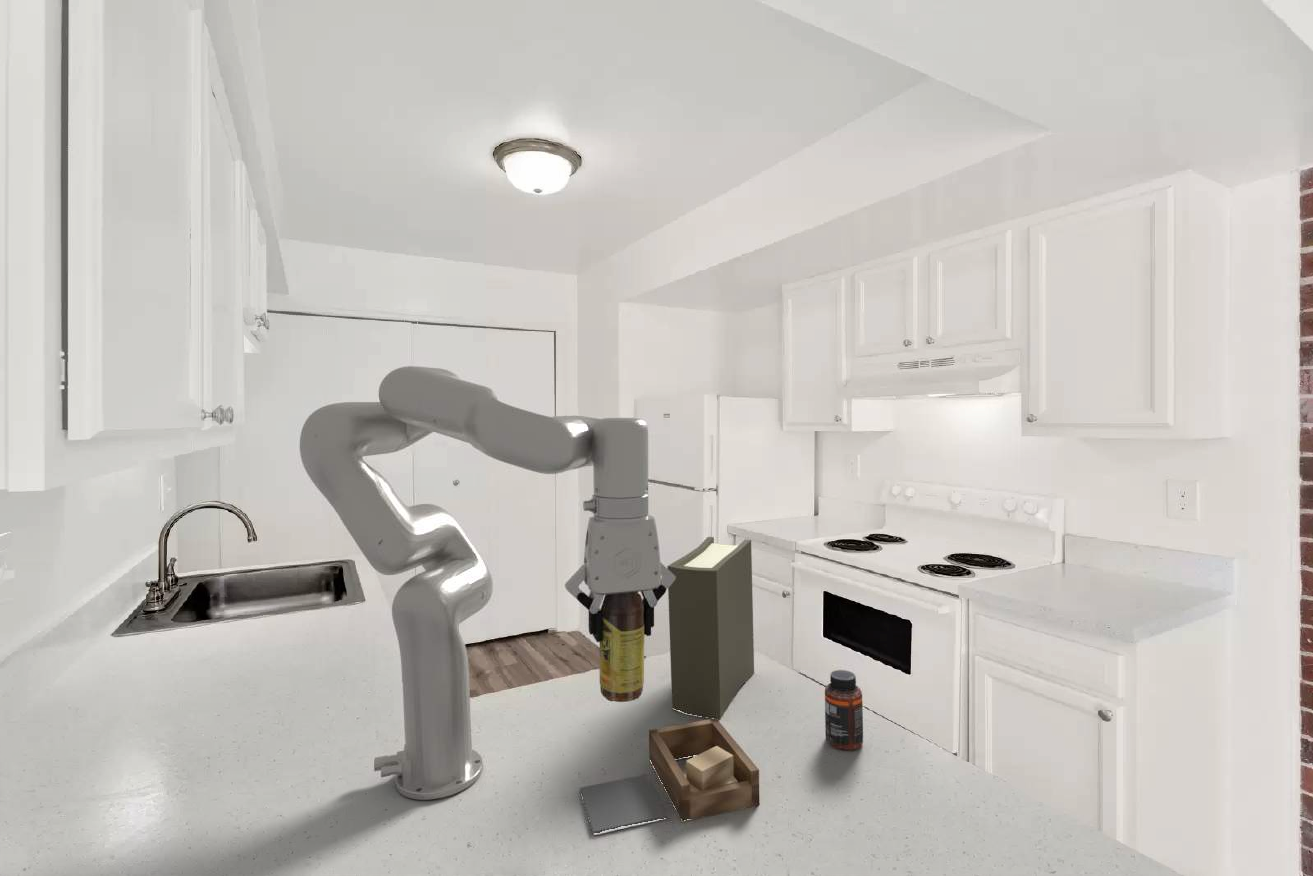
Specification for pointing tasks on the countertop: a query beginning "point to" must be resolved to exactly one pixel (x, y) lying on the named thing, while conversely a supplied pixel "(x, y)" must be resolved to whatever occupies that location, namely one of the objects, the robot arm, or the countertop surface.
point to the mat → (621, 803)
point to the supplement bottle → (843, 711)
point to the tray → (694, 742)
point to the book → (711, 627)
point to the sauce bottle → (622, 647)
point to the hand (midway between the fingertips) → (621, 634)
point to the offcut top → (709, 768)
